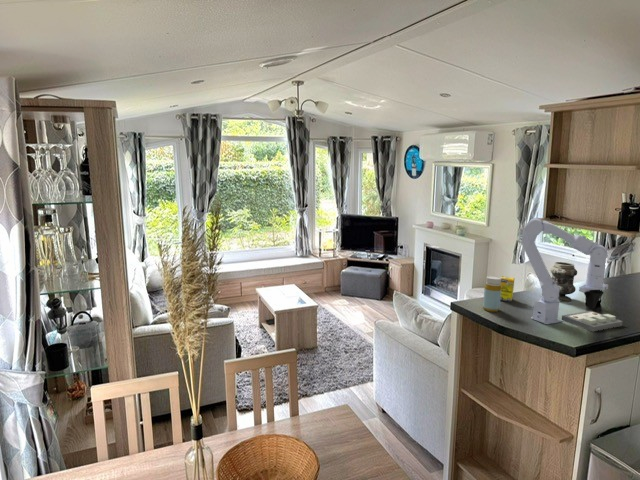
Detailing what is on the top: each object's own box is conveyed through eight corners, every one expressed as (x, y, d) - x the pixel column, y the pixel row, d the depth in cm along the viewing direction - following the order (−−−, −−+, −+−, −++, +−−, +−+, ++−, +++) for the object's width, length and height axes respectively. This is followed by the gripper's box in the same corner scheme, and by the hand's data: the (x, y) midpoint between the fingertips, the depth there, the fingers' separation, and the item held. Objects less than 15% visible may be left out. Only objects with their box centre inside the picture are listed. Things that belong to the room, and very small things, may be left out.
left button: (589, 326, 178) (590, 320, 178) (581, 323, 181) (582, 318, 181) (595, 325, 179) (596, 319, 179) (587, 322, 183) (588, 317, 182)
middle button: (599, 324, 180) (600, 319, 180) (591, 321, 184) (592, 316, 183) (605, 323, 182) (606, 318, 181) (597, 320, 185) (598, 315, 185)
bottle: (479, 308, 201) (482, 276, 199) (490, 306, 204) (493, 275, 202) (491, 313, 195) (494, 280, 193) (502, 310, 198) (505, 278, 196)
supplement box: (498, 300, 214) (500, 278, 212) (499, 297, 219) (501, 275, 217) (511, 302, 211) (513, 280, 209) (512, 299, 216) (514, 277, 214)
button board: (592, 331, 176) (593, 326, 175) (561, 319, 188) (562, 314, 188) (622, 325, 183) (622, 320, 182) (590, 315, 195) (590, 310, 195)
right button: (609, 322, 183) (610, 317, 182) (601, 320, 186) (602, 314, 186) (615, 321, 184) (615, 316, 184) (606, 319, 187) (607, 313, 187)
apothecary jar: (570, 296, 223) (574, 261, 220) (577, 303, 212) (582, 267, 209) (544, 294, 226) (548, 259, 223) (549, 301, 215) (554, 265, 211)
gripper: (592, 279, 170) (588, 312, 173) (617, 276, 176) (612, 308, 178) (576, 274, 177) (571, 307, 179) (600, 271, 182) (595, 303, 185)
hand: (591, 307), depth 179 cm, fingers closed
